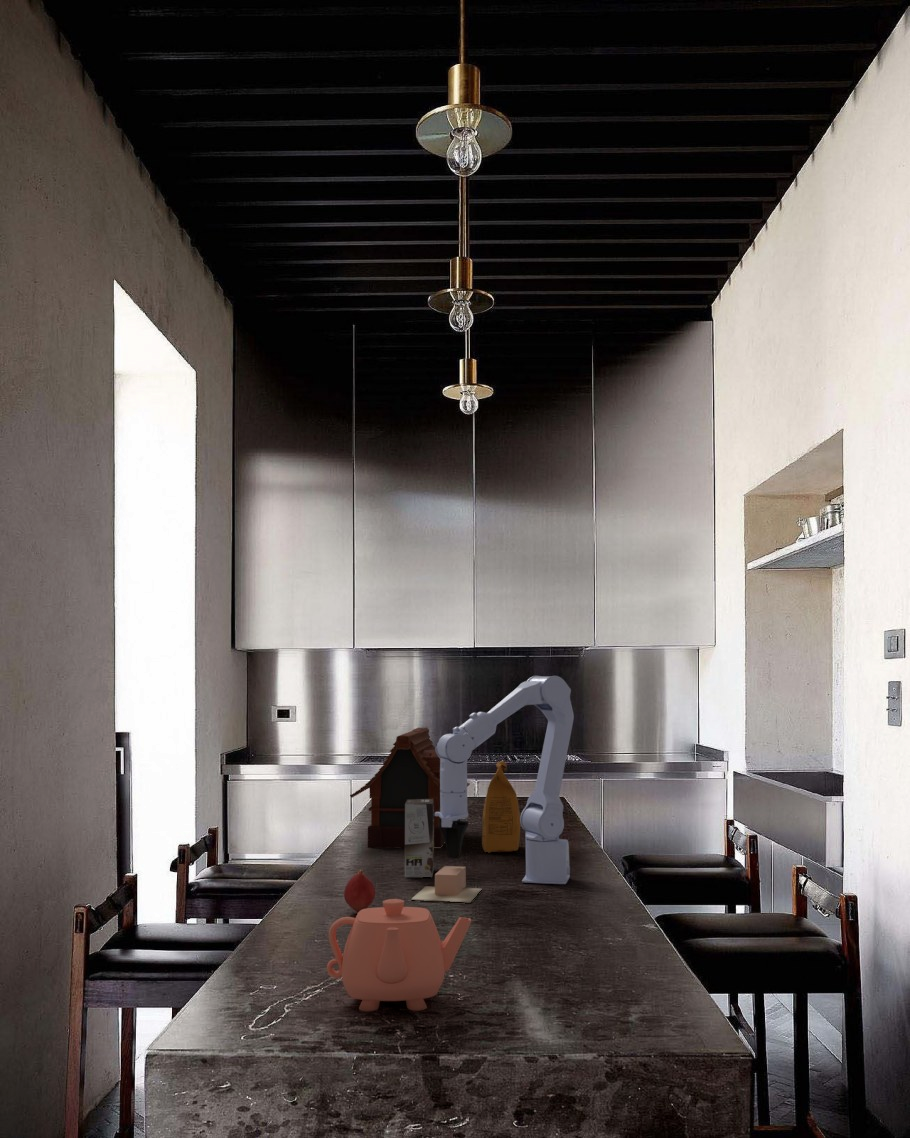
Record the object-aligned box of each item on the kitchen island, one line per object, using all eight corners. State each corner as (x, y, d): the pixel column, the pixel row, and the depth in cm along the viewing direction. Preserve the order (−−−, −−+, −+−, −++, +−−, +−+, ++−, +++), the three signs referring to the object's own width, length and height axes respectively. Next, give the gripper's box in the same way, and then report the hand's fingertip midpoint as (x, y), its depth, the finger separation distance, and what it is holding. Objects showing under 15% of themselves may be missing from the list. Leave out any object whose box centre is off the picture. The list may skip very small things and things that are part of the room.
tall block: (465, 866, 213) (456, 875, 204) (465, 886, 212) (456, 895, 204) (444, 866, 214) (434, 874, 205) (444, 885, 213) (434, 894, 205)
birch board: (481, 890, 210) (481, 888, 210) (470, 903, 198) (470, 901, 198) (425, 888, 213) (425, 886, 213) (411, 901, 201) (411, 898, 201)
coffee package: (522, 846, 263) (521, 760, 265) (520, 854, 250) (519, 764, 253) (484, 845, 264) (483, 759, 266) (479, 854, 251) (479, 764, 254)
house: (458, 850, 257) (457, 735, 260) (348, 849, 260) (348, 734, 263) (471, 829, 291) (471, 727, 294) (374, 828, 295) (375, 727, 297)
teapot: (476, 997, 142) (475, 898, 143) (393, 1031, 129) (393, 922, 130) (392, 975, 152) (391, 883, 153) (307, 1005, 139) (308, 904, 140)
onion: (338, 914, 190) (338, 871, 191) (355, 908, 195) (355, 865, 196) (364, 918, 187) (364, 873, 188) (380, 911, 192) (380, 868, 193)
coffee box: (433, 878, 223) (432, 803, 225) (403, 878, 223) (403, 803, 225) (434, 869, 232) (434, 798, 234) (406, 869, 232) (406, 798, 234)
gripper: (442, 787, 222) (443, 850, 220) (426, 795, 208) (427, 863, 206) (474, 787, 220) (475, 851, 219) (460, 796, 206) (461, 864, 205)
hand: (454, 857), depth 212 cm, fingers closed
